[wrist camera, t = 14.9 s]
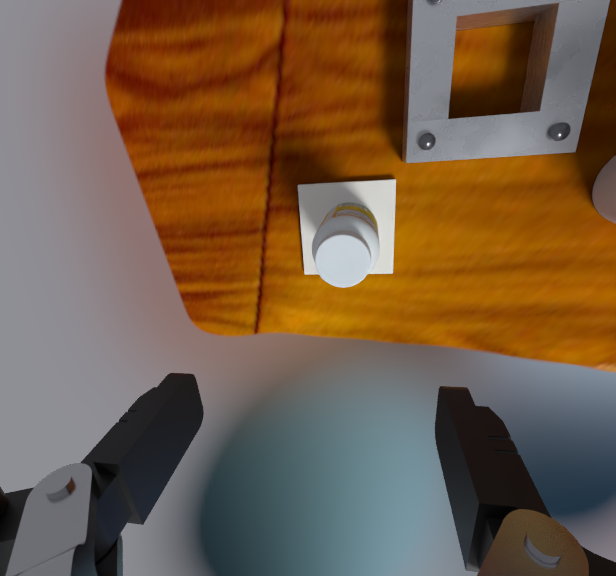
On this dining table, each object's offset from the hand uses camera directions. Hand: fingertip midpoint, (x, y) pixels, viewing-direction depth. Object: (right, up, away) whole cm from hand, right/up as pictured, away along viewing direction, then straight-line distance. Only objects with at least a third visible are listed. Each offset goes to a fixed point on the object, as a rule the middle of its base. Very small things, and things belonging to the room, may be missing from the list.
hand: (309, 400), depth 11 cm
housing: (+14, +21, +15) cm, 29 cm away
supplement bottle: (+4, +9, +21) cm, 24 cm away
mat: (+4, +9, +22) cm, 24 cm away
